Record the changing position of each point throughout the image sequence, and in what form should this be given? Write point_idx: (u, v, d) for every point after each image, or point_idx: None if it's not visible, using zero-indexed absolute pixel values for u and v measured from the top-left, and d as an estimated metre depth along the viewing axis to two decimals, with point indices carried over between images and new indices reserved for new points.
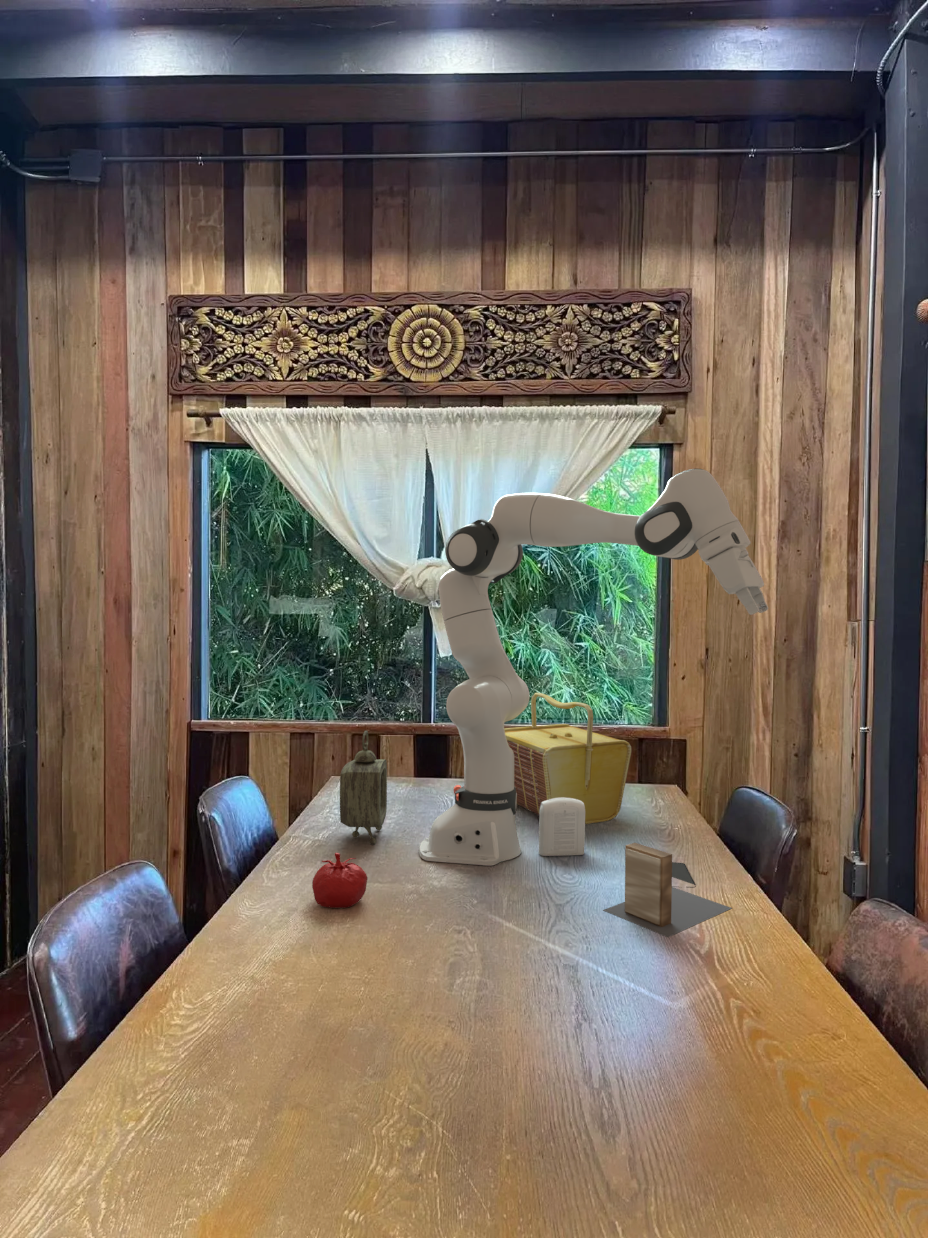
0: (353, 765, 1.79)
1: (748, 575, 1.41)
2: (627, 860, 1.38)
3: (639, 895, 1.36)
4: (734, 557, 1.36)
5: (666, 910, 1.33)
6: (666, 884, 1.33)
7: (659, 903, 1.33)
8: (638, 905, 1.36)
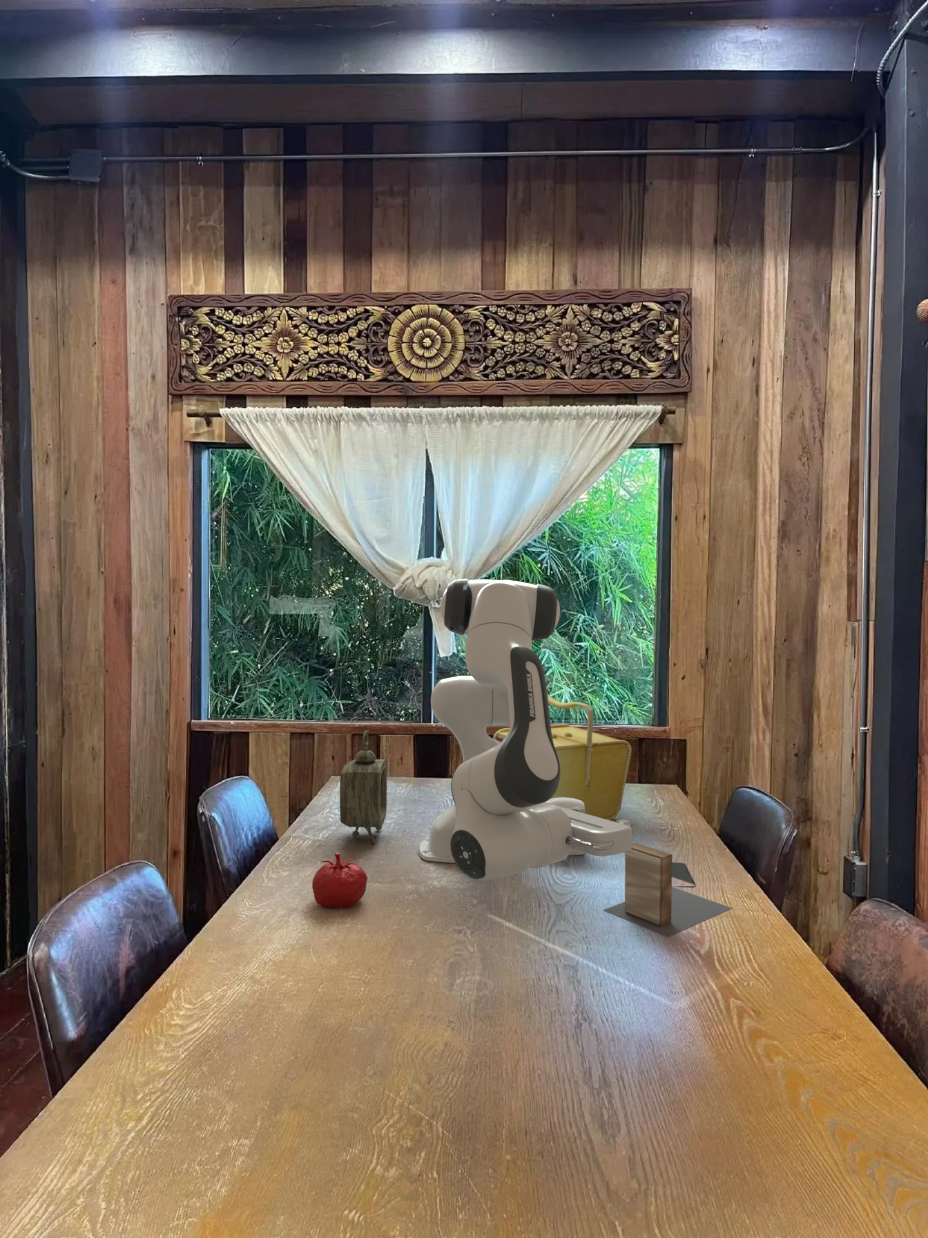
0: (353, 765, 1.79)
1: None
2: (627, 860, 1.38)
3: (639, 895, 1.36)
4: None
5: (666, 910, 1.33)
6: (666, 884, 1.33)
7: (659, 903, 1.33)
8: (638, 905, 1.36)
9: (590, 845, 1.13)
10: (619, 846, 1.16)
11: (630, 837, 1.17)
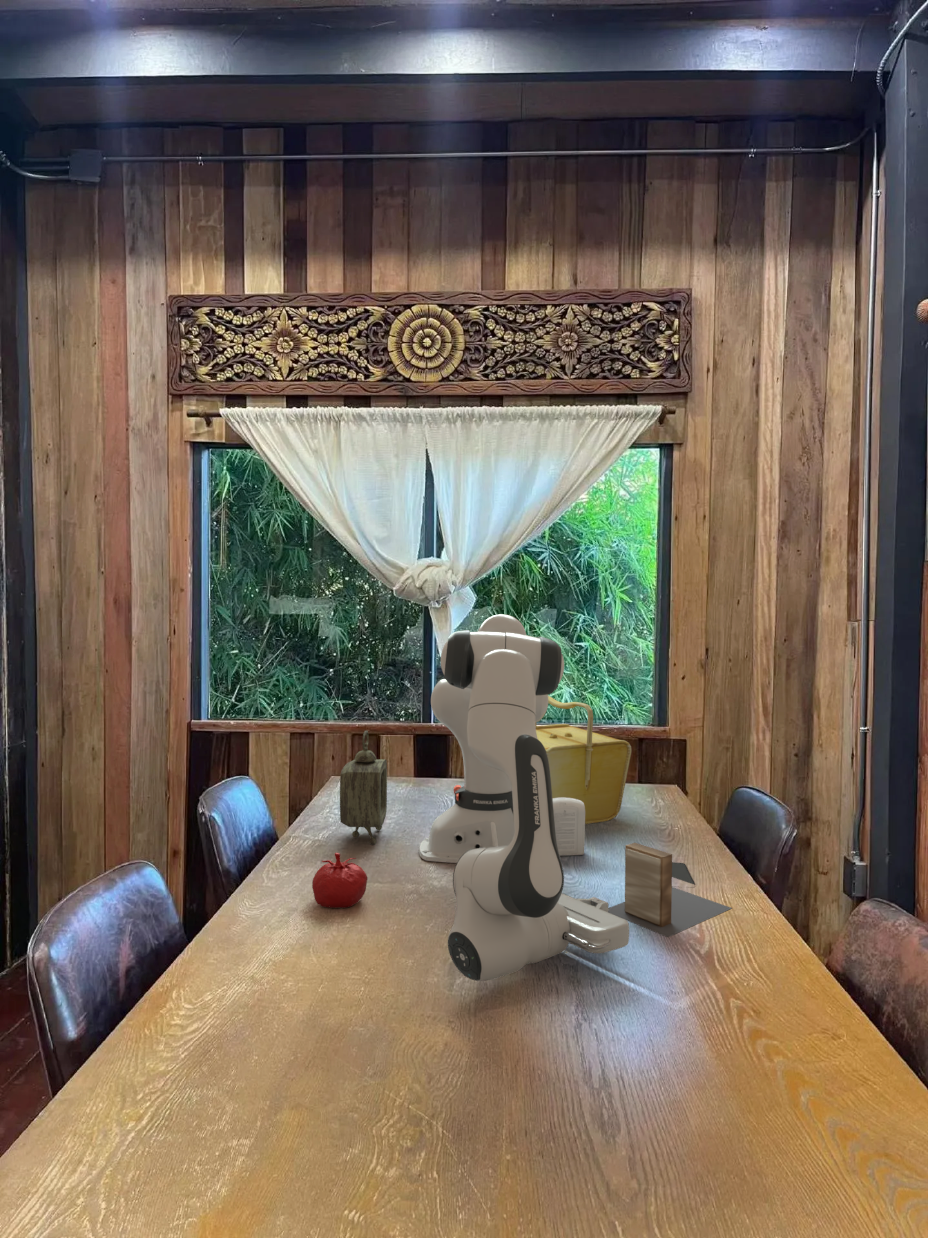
0: (353, 765, 1.79)
1: None
2: (627, 860, 1.38)
3: (639, 895, 1.36)
4: None
5: (666, 910, 1.33)
6: (666, 884, 1.33)
7: (659, 903, 1.33)
8: (638, 905, 1.36)
9: (586, 944, 1.14)
10: (615, 942, 1.16)
11: (627, 933, 1.17)
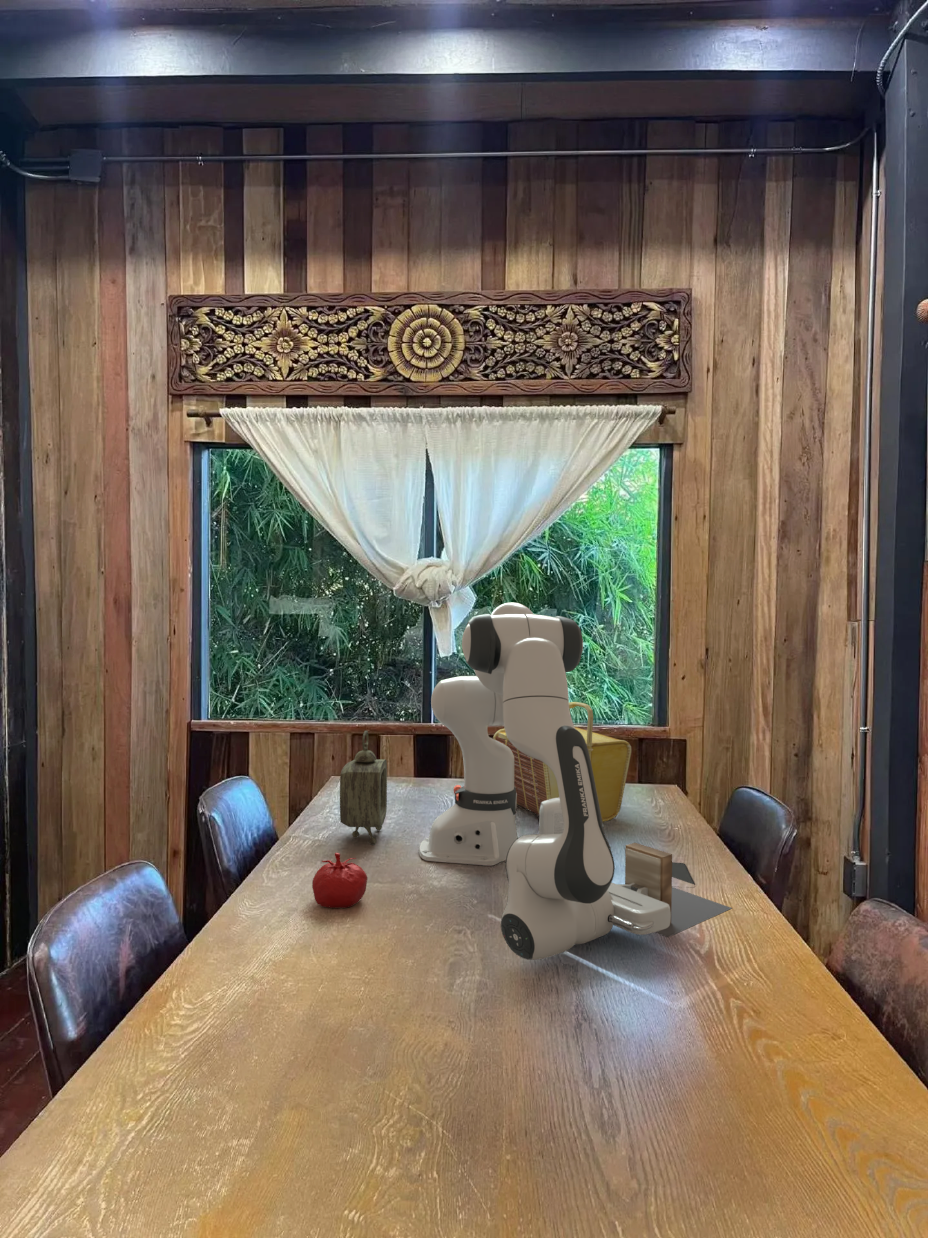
0: (353, 765, 1.79)
1: None
2: (627, 860, 1.38)
3: None
4: None
5: None
6: (666, 884, 1.33)
7: None
8: None
9: (631, 925, 1.20)
10: (658, 924, 1.23)
11: (668, 915, 1.24)
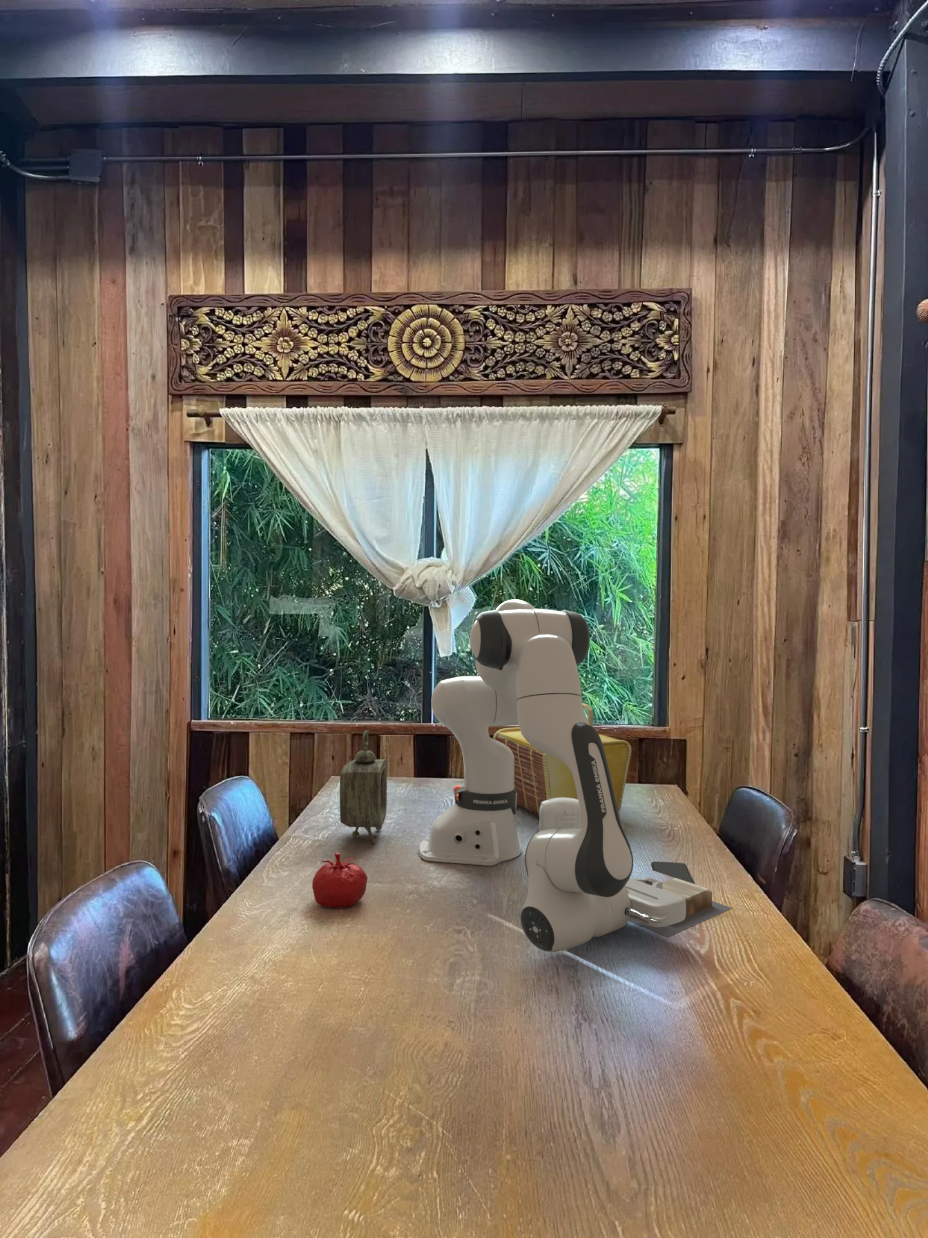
0: (353, 765, 1.79)
1: None
2: (671, 881, 1.46)
3: None
4: None
5: None
6: (696, 904, 1.39)
7: None
8: None
9: (648, 918, 1.23)
10: (674, 917, 1.25)
11: (684, 908, 1.26)
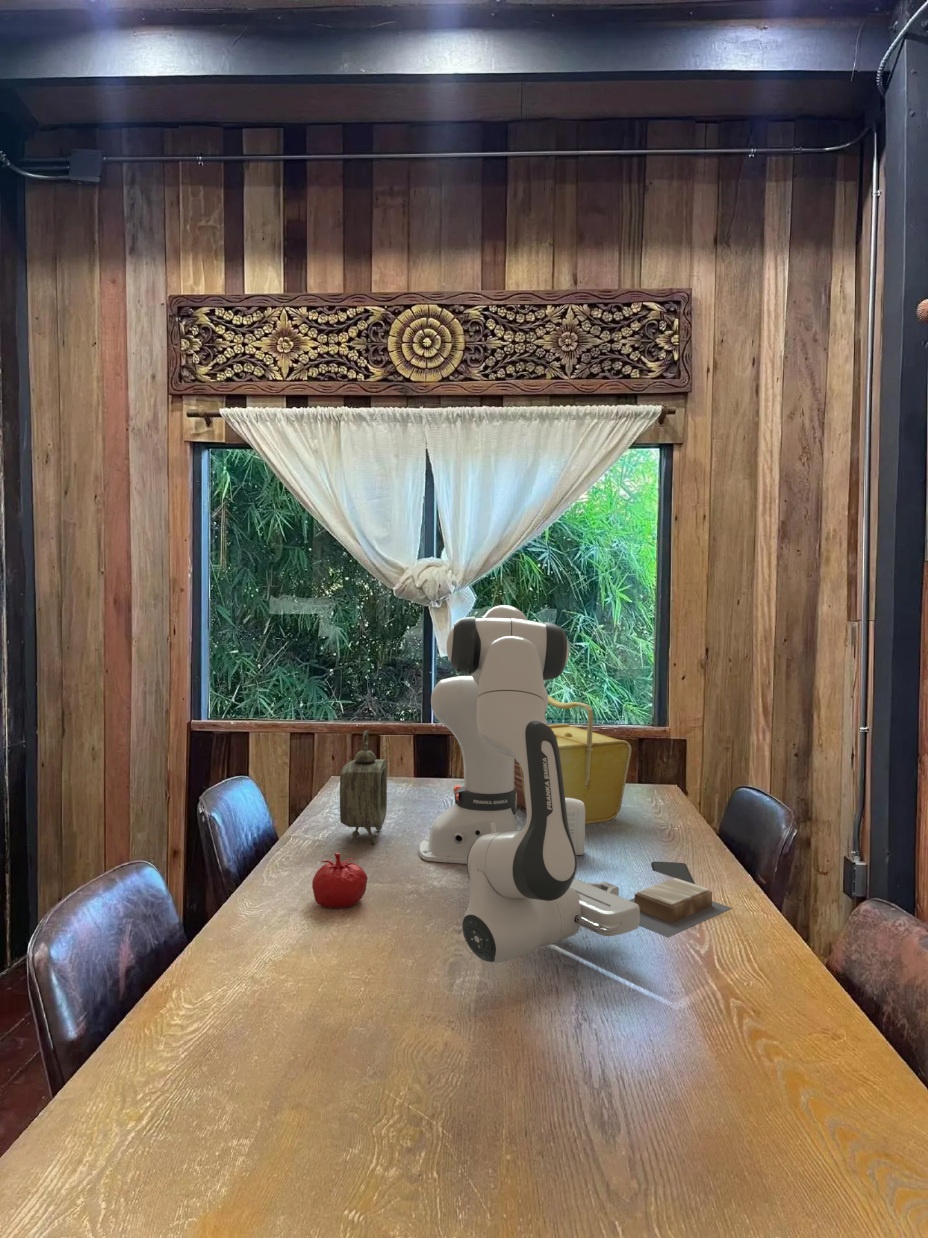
0: (353, 765, 1.79)
1: None
2: (671, 881, 1.46)
3: (665, 892, 1.40)
4: None
5: (680, 911, 1.36)
6: (696, 904, 1.39)
7: (683, 900, 1.37)
8: (658, 894, 1.40)
9: (598, 927, 1.16)
10: (627, 925, 1.18)
11: (637, 916, 1.20)
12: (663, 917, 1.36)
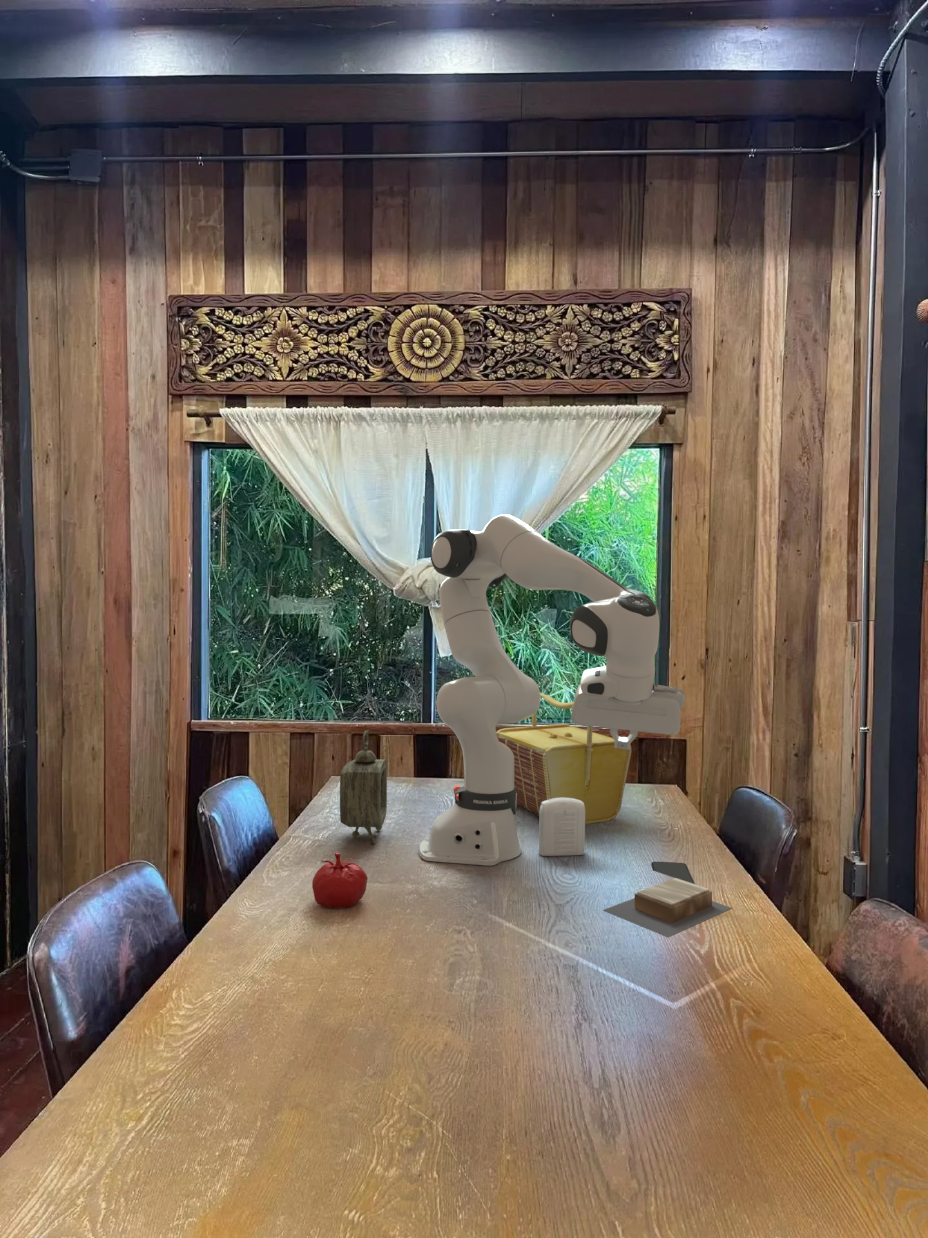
0: (353, 765, 1.79)
1: (608, 719, 1.46)
2: (671, 881, 1.46)
3: (665, 892, 1.40)
4: (575, 700, 1.46)
5: (680, 911, 1.36)
6: (696, 904, 1.39)
7: (683, 900, 1.37)
8: (658, 894, 1.40)
9: (677, 688, 1.43)
10: None
11: None
12: (663, 917, 1.36)
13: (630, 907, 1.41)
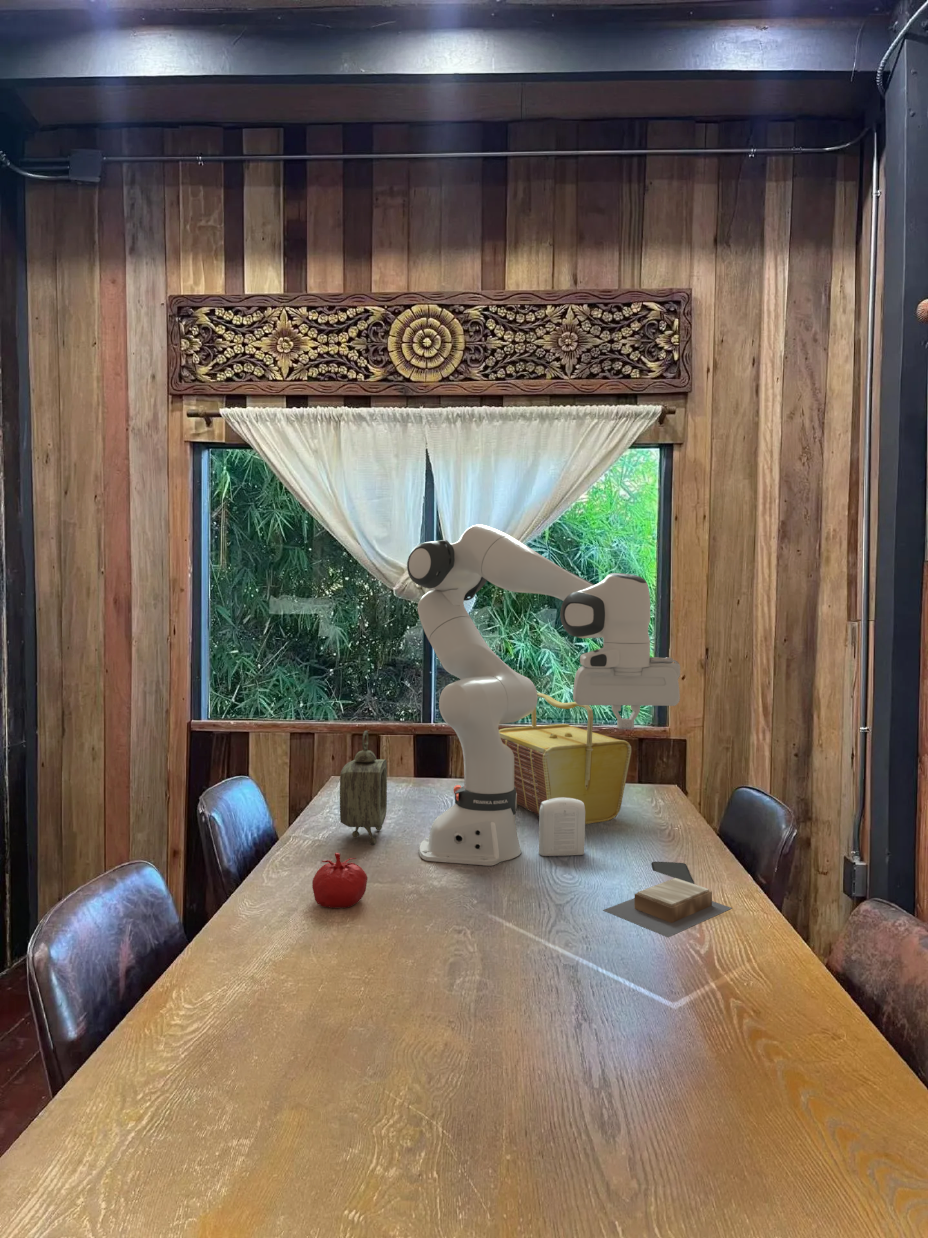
0: (353, 765, 1.79)
1: (611, 695, 1.50)
2: (671, 881, 1.46)
3: (665, 892, 1.40)
4: (578, 678, 1.49)
5: (680, 911, 1.36)
6: (696, 904, 1.39)
7: (683, 900, 1.37)
8: (658, 894, 1.40)
9: None
10: None
11: None
12: (663, 917, 1.36)
13: (630, 907, 1.41)
